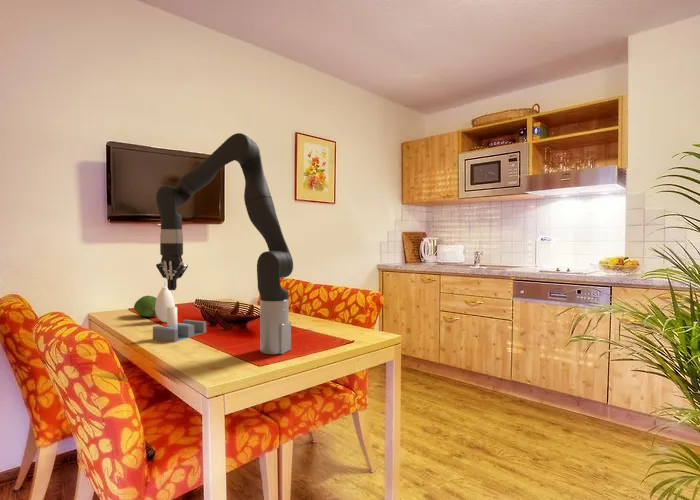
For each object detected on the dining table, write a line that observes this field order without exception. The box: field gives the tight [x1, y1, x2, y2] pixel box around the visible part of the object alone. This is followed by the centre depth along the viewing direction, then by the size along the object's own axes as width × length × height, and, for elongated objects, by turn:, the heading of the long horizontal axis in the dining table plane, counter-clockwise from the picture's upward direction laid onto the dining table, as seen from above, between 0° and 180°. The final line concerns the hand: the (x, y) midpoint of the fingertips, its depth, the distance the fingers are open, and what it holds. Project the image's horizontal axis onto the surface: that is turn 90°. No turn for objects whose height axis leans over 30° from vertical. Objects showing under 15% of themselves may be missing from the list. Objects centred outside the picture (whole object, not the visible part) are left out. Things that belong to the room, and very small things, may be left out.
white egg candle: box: [155, 281, 176, 323], centre depth 176 cm, size 8×8×18 cm
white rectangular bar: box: [166, 306, 178, 328], centre depth 144 cm, size 4×4×11 cm
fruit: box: [133, 295, 157, 318], centre depth 187 cm, size 15×10×10 cm, turn 54°
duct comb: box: [152, 319, 207, 343], centre depth 148 cm, size 10×16×6 cm, turn 160°
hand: (172, 289), depth 144 cm, fingers closed
